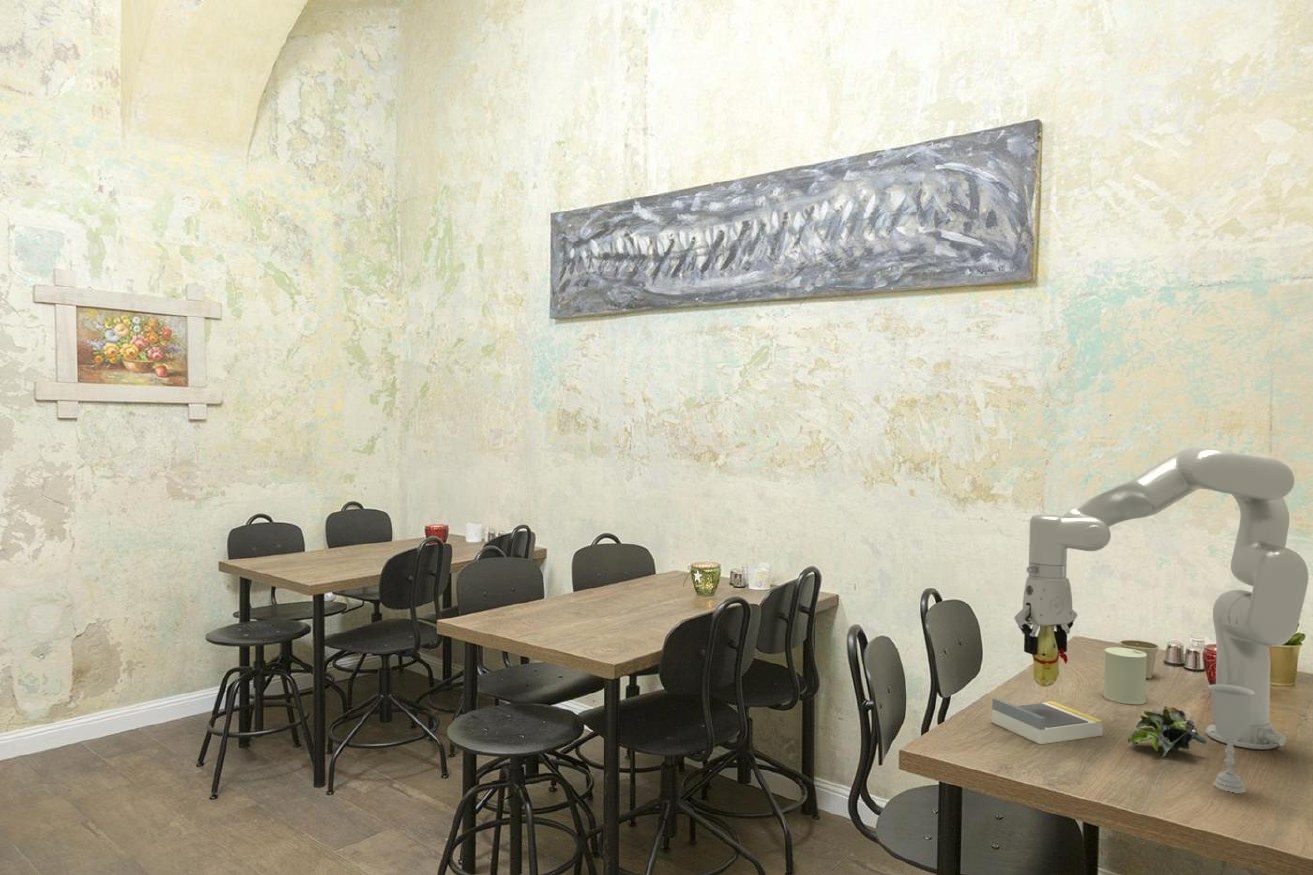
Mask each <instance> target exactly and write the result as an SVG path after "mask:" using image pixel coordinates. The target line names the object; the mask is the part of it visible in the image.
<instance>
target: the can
mask: <svg viewBox="0 0 1313 875" xmlns="http://www.w3.org/2000/svg"><path fill="white" fill-rule="evenodd" d="M1146 659H1147V654H1146V653H1144V652H1142V651H1138V650H1134V649H1128V648H1121V647H1115V646H1114V647H1107V648H1105V649H1104V686H1103V687H1104V690H1103V694H1102V695H1103V697H1104V698H1105V699H1106V700H1108V701H1111V702H1113V703H1118V704H1124V705H1132V706H1133V705H1134V706H1138V705H1144V704H1146V703H1147V696H1146V694H1147V693H1146V692H1147V690H1146V689H1147V688H1146V685H1147V678H1146Z"/></svg>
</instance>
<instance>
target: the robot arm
mask: <svg viewBox="0 0 1313 875" xmlns="http://www.w3.org/2000/svg"><path fill="white" fill-rule="evenodd" d="M1294 486H1295V475H1294V473H1293V471H1292V469H1291V468H1290V467H1289V466H1288V464H1286V463H1284V462H1282V461H1280V460H1278V459H1274V458H1267V457H1263V456H1262V457H1260V456H1254V455H1247V454H1241V453H1235V452H1229V451H1225V450H1219V449H1215V448H1214V449H1213V448H1197V447H1195V448H1194V447H1193V448H1185V449H1182V450H1180V451H1177V452H1176V453H1175V454H1172V455H1171V456H1169V457H1168V458H1166V459H1164V460H1163V461H1161V462H1160V463H1158V464H1157V465H1155V466H1153V467H1151V468H1150V469H1148V470H1146V471H1145V472H1143V473H1142V474H1139V475H1138V476H1136V477H1134V478H1133V479H1131V480H1130V481H1127V482H1124V483H1122V484H1120V485H1117V486H1115V487H1114V488H1111V489H1109V490H1106V491H1104V492H1102V493H1099V494H1097V495H1095V496H1093V497H1091V498H1090V499H1087V500H1085V501H1084V502H1083V503H1081V504H1079V505H1078V506H1076V507H1074V508H1072V509H1070V510H1069V511H1068V512H1066V513H1065V514H1064V515H1063V516H1062V515H1057V514H1047V513H1046V514H1045V513H1043V514H1042V513H1041V514H1039V513H1038V514H1034V515H1032V516H1031V518H1030V520H1029V539H1028V541H1029V542H1028V543H1029V545H1028V547H1029V548H1028V549H1029V550H1028V552H1029V553H1028V567H1026V572H1027V574H1028V576H1027V577H1026V581H1025V586H1024V589H1023V590H1024V591H1023V600H1022V609H1021V610H1019V612H1018V613H1017V614H1016V615H1015V616H1014V621H1015V622H1016V624H1017V626H1018V628H1019V629H1020V630H1021V634H1023V637H1024V638H1023V641H1024V642H1023V651H1024V652H1025V653H1026V654H1030V655H1032V656H1033V655H1037V644H1038V638H1037V636H1036V634H1037V633H1038V631H1039V629H1040V626H1051V625H1054V629H1055V630H1054V635H1055V640H1056V644H1057V648H1058V652H1059V650H1060V649H1062V648H1063V649H1064V653H1067V651H1068V650H1067V649H1068V648H1067V647H1068V635H1069V634H1070V633H1071V631H1070V630H1071V628H1072V627H1073V625H1074V622H1075V620H1076V619H1077V617H1078V613H1077V612H1076V611H1075V610H1074V609H1073V595H1072V587H1071V583H1070V578H1069V577H1067V568H1068V567H1067V565H1068V564H1067V560H1068V555H1067V554H1068V549H1071V550H1072V549H1073V550H1078V551H1085V552H1098V551H1100V550H1102V549H1104V548H1105V547H1107V545H1108V544H1109V543H1110V541H1111V536H1112V534H1111V533H1112V532H1111V529H1110V527H1112V526H1114V525H1116V524H1120V523H1123V522H1126V521H1129V520H1135V519H1141V518H1146V517H1150V516H1154V515H1156V514H1159V513H1161V512H1162V511H1164V510H1166V509H1167V508H1169V507H1170V506H1172V505H1173V504H1175V503H1177V502H1178V501H1181V499H1184V498H1186V497H1187V496H1189V495H1191V494H1192V493H1194V492H1196V491H1197V490H1199V489H1200V490H1207V491H1214V492H1220V493H1224V494H1229V495H1231V496H1233V499H1235V501H1236V503H1237V504H1238V505H1237V506H1238V507H1239V512H1240V513H1239V514H1240V519H1239V527H1238V531H1237V535H1236V539H1235V543H1234V548H1233V552H1232V555H1231V560H1230V570H1231V573H1232V575H1233V577H1235V578H1236V579H1237V581H1240V582H1241V583H1243V584H1246V585H1248V586H1251V587H1252V591H1248V590H1243V589H1233V590H1229V591H1225V592H1224V593H1222V594H1220V595H1219V596H1218V597H1217V599H1216V600H1215V602H1214V605H1213V608H1212V619H1213V620H1212V621H1213V626H1214V627H1213V628H1214V631H1215V632H1214V633H1215V640H1216V641H1215V642H1216V643H1215V644H1216V645H1215V646H1216V662H1215V664H1216V665H1215V684H1224V685H1233V686H1239V687H1243V688H1247V689H1250V690H1252V691H1254V692H1255V694H1254V695H1253V697H1252V698H1251V720H1250V722H1249V725H1248V727H1247V729H1246V730H1245V732H1244V733H1243V735H1242V736H1241V738H1240V739H1239V740H1237V741H1234V743H1233V747H1238V748H1244V749H1252V750H1272V749H1275V748H1277V747H1278V746H1280V747H1283V746H1284V745H1285V744H1286V741H1287V739H1288V738H1287V735H1286V734H1284V733H1280V732H1276V730H1275V724H1274V723H1271V722H1270V703H1271V702H1270V697H1271V696H1270V695H1271V692H1270V691H1271V690H1270V689H1271V665H1272V664H1271V653H1270V647H1279V646H1282V645H1285V644H1286V643H1288V642H1289V641H1290V640H1291V639H1292V638H1293V636H1294V635H1295V633H1296V630H1297V629H1298V626H1299V623H1300V619H1301V618H1300V617H1301V616H1302V615H1301V614H1302V611H1303V606H1304V602H1305V597H1306V594H1307V589H1308V584H1309V570H1308V567H1307V563H1306V561H1305V560H1304V558H1303V557H1302V556H1301V555H1300V554H1299V553H1297V551H1294V550H1292V549H1291V548H1287V547H1286V546H1287V540H1288V534H1289V527H1290V512H1289V509H1288V505H1287V502H1286V501H1285V499H1284V498H1285V497H1286V496H1287V495H1289V493H1290V492H1291V491H1292V490H1293V488H1294ZM1205 728H1206V730H1205V731H1206V735H1207V736H1208V737H1210V738H1211V739H1213V740H1215V741H1218V742H1220V743H1222V744H1226V745H1227V740H1226V739H1224V738H1222V737H1221V735H1220V733H1219V731H1218V729H1217V727H1216V725H1215V723H1214V724H1209V725H1207V727H1205Z"/></svg>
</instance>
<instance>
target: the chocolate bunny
mask: <svg viewBox="0 0 1313 875" xmlns="http://www.w3.org/2000/svg"><path fill="white" fill-rule="evenodd" d="M1054 631H1055V626H1054V625H1051V626H1039V629H1038V632H1037V638H1038V644H1037V655H1032V659H1033V669H1032V673H1033V680H1034V681H1035V683H1036V684H1038V685H1039V686H1040V687H1045V688H1047V687H1050V686H1053V685H1054V684H1055V682H1056V681H1057V679H1058V677H1059V674H1060V668H1059V666H1060V665H1059V663H1060V662H1059V658H1061V659H1063V662H1064V663H1065V664H1067V663H1068V661H1069V659H1068V656H1067V654H1066V653H1065V652H1064V649H1063V648H1062V649H1060V650H1059V651H1058V648H1057V644H1056V640H1055V635H1054Z"/></svg>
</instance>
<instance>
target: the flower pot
mask: <svg viewBox="0 0 1313 875" xmlns="http://www.w3.org/2000/svg"><path fill="white" fill-rule="evenodd" d="M1118 643H1119V645H1120V648H1128V649H1134V650H1138V651H1142V652H1144V653H1146V654H1147V659H1146V679H1147V680H1148V679H1152V678H1153V674H1154V666H1155V662H1156V655H1157V654H1158V650H1159V649H1160V645H1159V644H1157V643H1154V642H1150V641H1145V640H1144V641H1143V640H1139V639H1138V640H1137V639H1136V640H1135V639H1122V640H1120V641H1119V642H1118Z"/></svg>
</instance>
